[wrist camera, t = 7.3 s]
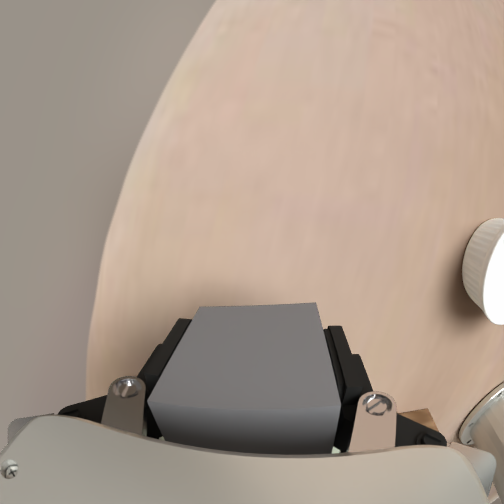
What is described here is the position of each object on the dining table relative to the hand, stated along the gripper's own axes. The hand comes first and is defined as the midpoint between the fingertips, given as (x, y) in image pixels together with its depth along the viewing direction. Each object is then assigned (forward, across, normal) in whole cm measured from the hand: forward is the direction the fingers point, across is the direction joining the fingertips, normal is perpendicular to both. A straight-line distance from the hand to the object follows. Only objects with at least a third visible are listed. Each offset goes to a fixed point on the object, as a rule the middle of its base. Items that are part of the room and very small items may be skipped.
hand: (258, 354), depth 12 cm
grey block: (+1, 0, +5) cm, 5 cm away
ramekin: (+10, -20, -2) cm, 23 cm away
